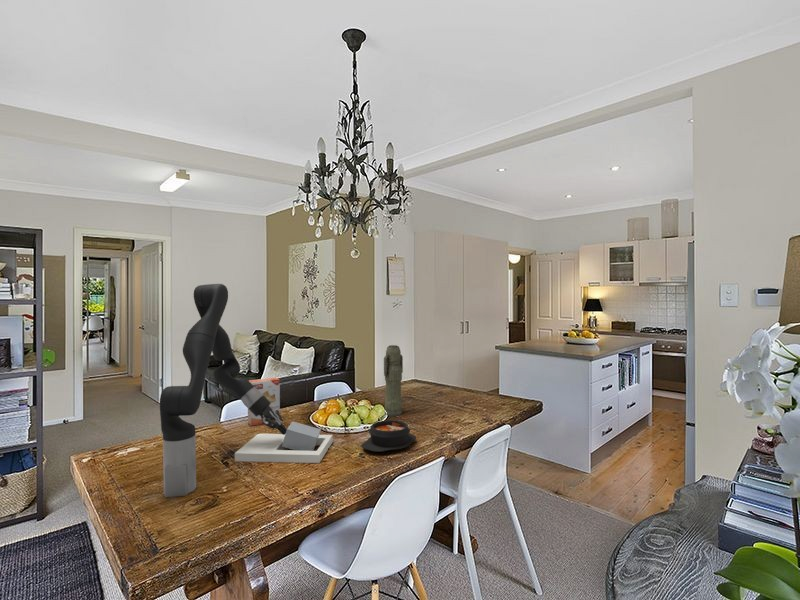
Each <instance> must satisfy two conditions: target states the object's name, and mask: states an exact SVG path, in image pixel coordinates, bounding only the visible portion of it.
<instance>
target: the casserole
mask: <svg viewBox="0 0 800 600" xmlns="http://www.w3.org/2000/svg"><path fill="white" fill-rule="evenodd" d="M368 433H369V434H370V437H368V439H367V440H366V441H364V442H362V443H361V447H362V448H363V449H365V450H367V451H371V452H373V453H374V452H375V453H382V452H387V451H397V450H401V449H405V448H408V447H409V446H411V444H412V443H413V442H414V441H415V440H416V439H417V436H416V435H414V434H413V433H411V429H410V428H409V426H408V424H407V423H406V422H404V421H401V420H395V419H394V420H392V419H390V420H389V419H388V420H379V421H376V422H374V423H372V424H371V425H370V428H369V429H368Z"/></svg>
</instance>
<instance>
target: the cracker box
mask: <svg viewBox="0 0 800 600" xmlns="http://www.w3.org/2000/svg"><path fill="white" fill-rule="evenodd" d="M248 381H249V382H250V383H251V384H252V385H253V386H254V387H255V388H256V389H258V390H259V391H260V392H261V393H262V394H263V395H264V396H265V397H266V398H267V399H268V400H269V401H270V402H271V404H270V405H269V407H271V408H272V409H273V410H274V411H276V410H278V411H279V413H280V412H281V407H280V406H281V404H280V403H281V400H280V399H281V394H280V393H281V392H280V391H281V390H280V389H281V388H280V387H281V382H280V381H281V380H280V379H279V378H278V377H276V376H275V377H268V378H260V379H251V380H248ZM273 421H274V420H273ZM262 422H263V419H262V418H261V416H260V415H259V416H255V415H254V414H253V413H252V412H251V411H250V410H249V409H248V408H247V424H248V425H250V427H254V426H260V425H263V424H262Z"/></svg>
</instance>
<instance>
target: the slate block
mask: <svg viewBox="0 0 800 600" xmlns="http://www.w3.org/2000/svg"><path fill="white" fill-rule="evenodd" d="M286 428H287V430H286V434H285V437H284V440H283V444H282V447H285V448H286V449H289V450H298V451H315V448H316V447H315V446H317V445H316V444H317V440H318V437H319V435H321V433H320V432H321V430H322V429H320V428H318V427H317V428H316V427H313V426H310V425H307V424H303V423H300V422H296V421H294V420H293V421H291V423H290V424H289V426H288V427H286ZM285 448H284V449H285Z"/></svg>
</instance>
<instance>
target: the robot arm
mask: <svg viewBox="0 0 800 600" xmlns="http://www.w3.org/2000/svg"><path fill="white" fill-rule="evenodd" d="M228 300H229V291H228V288H227V286H226V285H225V284H223V283H211V284H209V283H208V284H201V285H197V286H196V287H195V288H194V290H193V301H194V304H195V307H196V310H197V312H198V315H199V317H200V319H199V320H198V321H196V323H195V324H193V325H192V327H191V328H190V329H189V330H188V332H187V334H186V336H185V339H184V340H185V341H184V343H183V345H182V355H183V358H184V360H185V362H186V364H187V367H188V369H189V371H190V380H189V383H188V385H169V386H166V387H164V388H163V389H162V391H161V393H160V398H159V414H160V416H159V417H160V427H161V428H160V429H161V433H162V446H163V447H162V456H163V457H162V459H163V461H162V462H163V465H162V467H163V468H162V469H163V471H162V472H163V473H162V474H163V494H164V498H173V497H174V498H175V497H184V496H188V494H191V493H192V492H194V491H195V490H196V488H197V454H196V451H197V450H196V449H197V447H196V446H197V442H196V439H197V436H196V435H197V434H196V426H195V424H193V423H191V422H188V421H185V420H183V419H182V418H181V416H184V417H185V416H186V417H187V416H193V415H195V414H196V413H197V412H198V410H199V408H200V404H201V401H202V395H203V390H204V384H205V380H206V375H207V371H208V367H209V362H210V358H211V355H212V356H213V358H214V360H216V361H223V363H222V364H221V365H219V366H218V367H216V368H215V369H213V373H212V376H213V379H214V380H215V382H216V383H217V384H219V386H222V387H223V388H225V389H226V390H228V391H230V392H232V393H234V395H235V396H236V397H238V399H239V400H240V401H241V402H242V404H243V405H244V406H245V407H246V408H247V410H248V409H249V410H250V411H251V412H252V413H253V414H254V415H255V416H259V415H260V416H261V418H262V419H263V422H262V424H261V425H264V426H266V427H268V428H270V429H272V430H275V429H276V430H277V431H278V432H280V434H283V435H285V434H286V430H287V428H288V427H286V426H285V425H284V424H283V421H284V420H283V417H282V415H281V414H280V413H279V411H278V410H276V411H274V410H273V409H272V408H271V407H269V405H270V404H271V402H270V401H269V400H268V399H267V398H266V397H265V396H264V395H263V394H262V393H261V392H260V391H259V390H258V389H256V388H255V387H254V386H253V385H252V384H251V383H250V382H249V380H248V379H247V378H246V377H245V378H240V379H237V378H236V377H237V376H239V374H241V373H240V372H241V366H240V363H239V361H238V359H237V357H236V356H235V354H234V352H233V348H232V344H231V339H230V337H229V334H228V332H227V331H226V330H225V329H224V328H223V326H222V325H220V323H221V319H222V317H223V314H224V312H225V309H226V307H227V304H228ZM273 420H274V421H273Z"/></svg>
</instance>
